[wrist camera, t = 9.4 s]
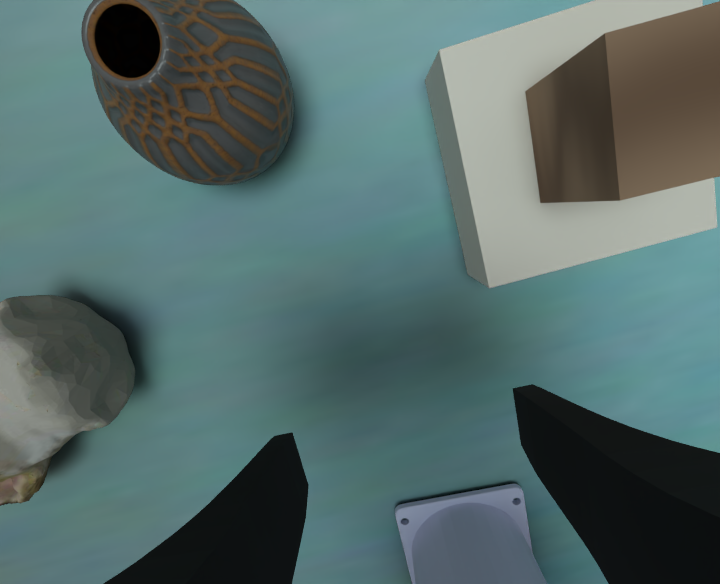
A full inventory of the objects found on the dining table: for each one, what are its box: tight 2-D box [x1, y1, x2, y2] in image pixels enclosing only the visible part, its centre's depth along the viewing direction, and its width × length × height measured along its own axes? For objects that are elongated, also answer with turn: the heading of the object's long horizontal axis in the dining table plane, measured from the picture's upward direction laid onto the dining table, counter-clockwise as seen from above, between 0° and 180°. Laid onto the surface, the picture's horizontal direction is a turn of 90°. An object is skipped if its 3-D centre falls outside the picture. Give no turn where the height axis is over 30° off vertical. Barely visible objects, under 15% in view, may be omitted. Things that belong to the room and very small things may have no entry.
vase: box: [82, 0, 294, 185], centre depth 14 cm, size 7×7×9 cm
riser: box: [425, 0, 717, 288], centre depth 17 cm, size 10×10×4 cm
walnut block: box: [525, 1, 720, 203], centre depth 13 cm, size 4×4×5 cm
